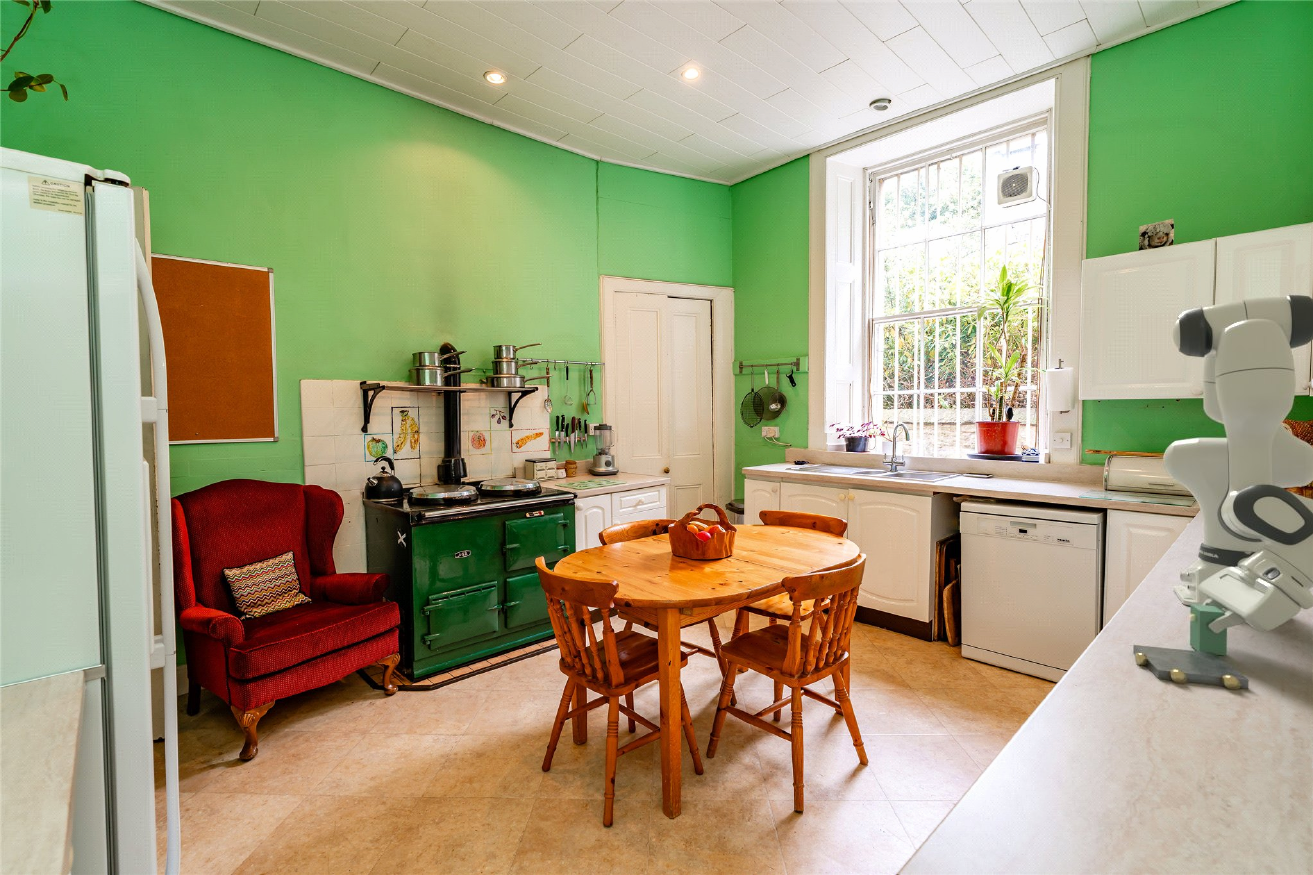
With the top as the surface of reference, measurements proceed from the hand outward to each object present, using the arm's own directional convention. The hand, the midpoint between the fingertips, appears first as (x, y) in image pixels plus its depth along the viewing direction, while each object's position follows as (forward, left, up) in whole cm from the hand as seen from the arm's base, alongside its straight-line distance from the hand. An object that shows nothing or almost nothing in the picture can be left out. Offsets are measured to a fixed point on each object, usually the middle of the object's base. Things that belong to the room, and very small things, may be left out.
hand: (1203, 624), depth 116 cm
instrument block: (0, +1, -5) cm, 5 cm away
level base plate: (+11, -6, -5) cm, 14 cm away
